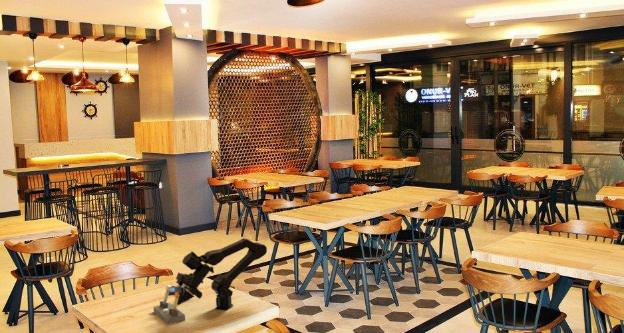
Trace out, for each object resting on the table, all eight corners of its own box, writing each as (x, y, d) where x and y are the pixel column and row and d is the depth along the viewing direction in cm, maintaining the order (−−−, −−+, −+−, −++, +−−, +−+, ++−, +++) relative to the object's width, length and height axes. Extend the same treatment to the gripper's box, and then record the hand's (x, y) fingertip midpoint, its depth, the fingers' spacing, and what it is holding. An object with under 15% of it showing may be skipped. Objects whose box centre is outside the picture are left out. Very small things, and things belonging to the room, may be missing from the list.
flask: (177, 304, 272) (176, 283, 271) (173, 303, 273) (172, 282, 272) (191, 298, 279) (190, 278, 278) (187, 298, 281) (186, 277, 280)
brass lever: (176, 315, 251) (181, 293, 251) (171, 314, 249) (176, 292, 250) (174, 313, 253) (179, 291, 254) (169, 313, 251) (174, 291, 252)
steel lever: (166, 307, 262) (172, 286, 262) (161, 306, 260) (167, 285, 261) (165, 305, 264) (170, 284, 265) (159, 305, 262) (165, 284, 263)
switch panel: (185, 320, 251) (184, 310, 250) (168, 324, 246) (167, 314, 246) (170, 307, 267) (169, 298, 267) (153, 311, 263) (153, 302, 263)
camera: (170, 288, 299) (169, 274, 298) (190, 286, 300) (190, 273, 299) (167, 295, 286) (166, 281, 285) (188, 294, 287) (187, 280, 287)
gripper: (178, 261, 261) (157, 289, 256) (193, 270, 245) (171, 300, 240) (195, 274, 266) (175, 302, 261) (211, 283, 251) (190, 313, 246)
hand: (177, 304), depth 252 cm, fingers closed, pressing on brass lever
